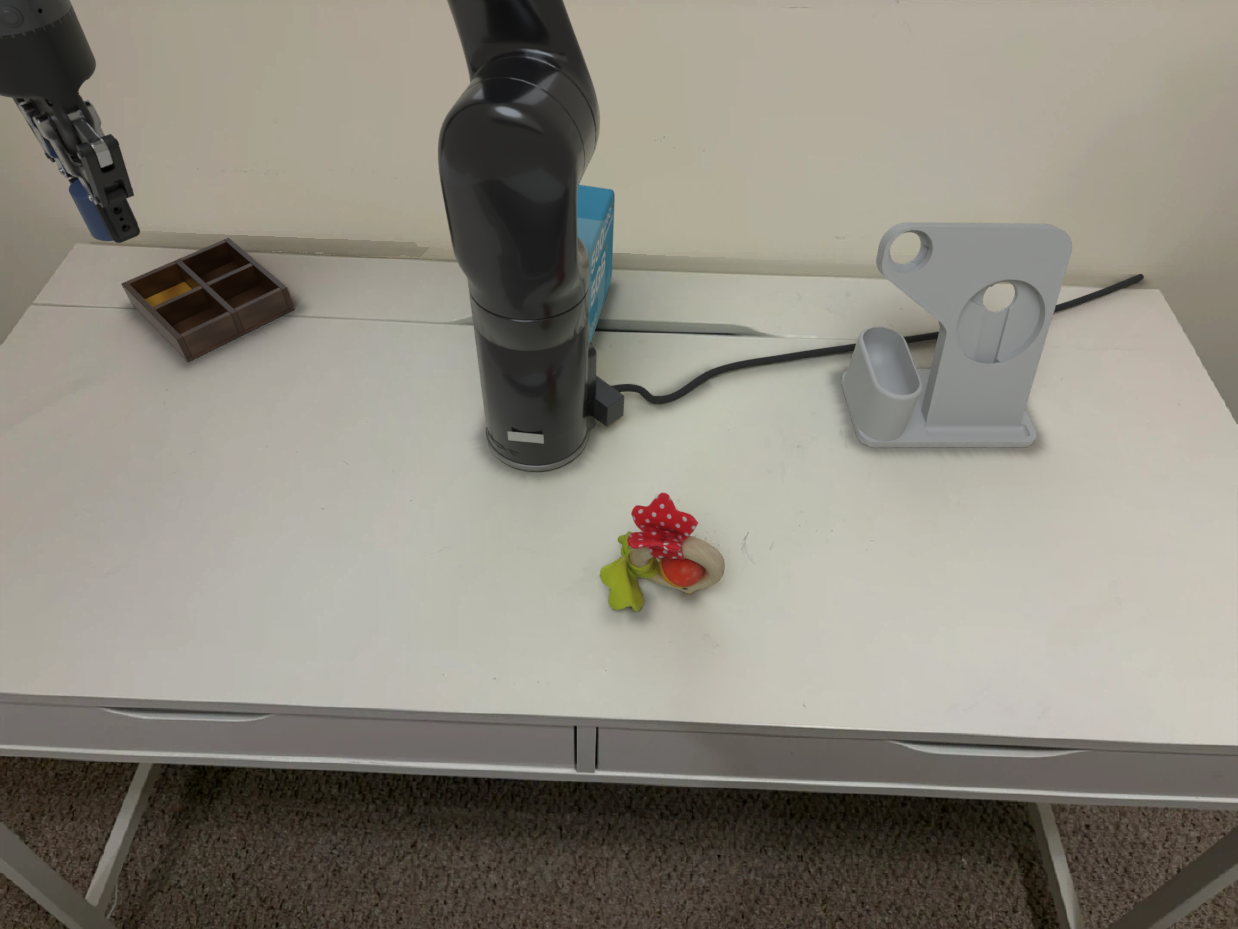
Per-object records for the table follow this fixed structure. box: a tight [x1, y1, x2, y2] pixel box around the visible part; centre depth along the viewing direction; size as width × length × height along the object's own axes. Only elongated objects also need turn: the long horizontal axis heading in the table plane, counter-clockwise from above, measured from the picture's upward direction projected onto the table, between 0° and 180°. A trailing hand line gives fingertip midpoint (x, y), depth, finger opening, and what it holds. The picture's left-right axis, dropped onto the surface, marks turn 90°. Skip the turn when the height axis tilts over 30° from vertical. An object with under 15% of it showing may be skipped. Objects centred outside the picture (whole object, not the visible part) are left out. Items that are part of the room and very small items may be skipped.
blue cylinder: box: [68, 179, 139, 242], centre depth 67 cm, size 4×4×4 cm
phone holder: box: [840, 221, 1073, 448], centre depth 73 cm, size 17×10×18 cm, turn 92°
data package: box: [577, 184, 616, 345], centre depth 83 cm, size 12×4×12 cm, turn 169°
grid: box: [121, 237, 295, 363], centre depth 85 cm, size 12×12×3 cm
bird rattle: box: [599, 492, 726, 613], centre depth 62 cm, size 6×11×9 cm
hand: (114, 225), depth 69 cm, fingers closed on blue cylinder, 3 cm apart
